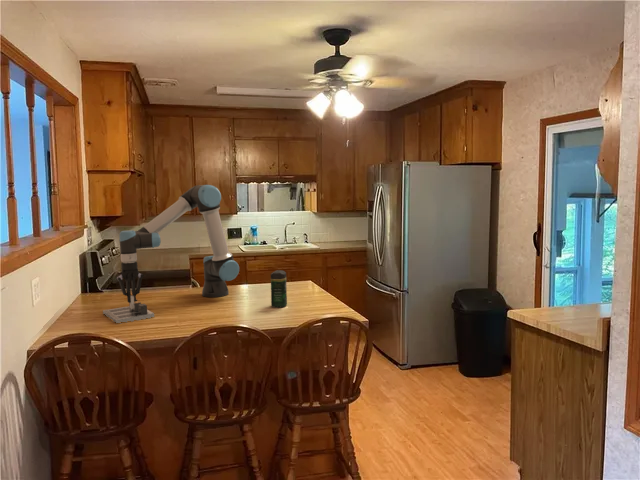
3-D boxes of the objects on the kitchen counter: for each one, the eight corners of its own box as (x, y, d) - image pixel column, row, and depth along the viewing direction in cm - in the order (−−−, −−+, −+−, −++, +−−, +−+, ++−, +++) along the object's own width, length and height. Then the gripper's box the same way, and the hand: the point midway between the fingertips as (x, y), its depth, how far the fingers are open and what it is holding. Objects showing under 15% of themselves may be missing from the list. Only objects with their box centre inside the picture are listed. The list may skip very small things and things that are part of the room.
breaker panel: (103, 314, 258) (102, 302, 258) (139, 308, 269) (138, 297, 268) (116, 324, 239) (115, 311, 238) (154, 317, 250) (153, 305, 249)
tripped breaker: (132, 309, 257) (132, 301, 257) (138, 308, 259) (138, 300, 258) (135, 311, 254) (134, 303, 253) (141, 310, 256) (140, 302, 255)
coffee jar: (285, 308, 262) (284, 272, 259) (270, 308, 262) (268, 272, 260) (288, 303, 271) (287, 269, 269) (273, 303, 272) (272, 269, 270)
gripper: (117, 264, 245) (121, 312, 248) (144, 261, 253) (147, 307, 256) (113, 262, 251) (116, 309, 254) (140, 259, 259) (143, 305, 262)
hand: (132, 308), depth 255 cm, fingers closed
